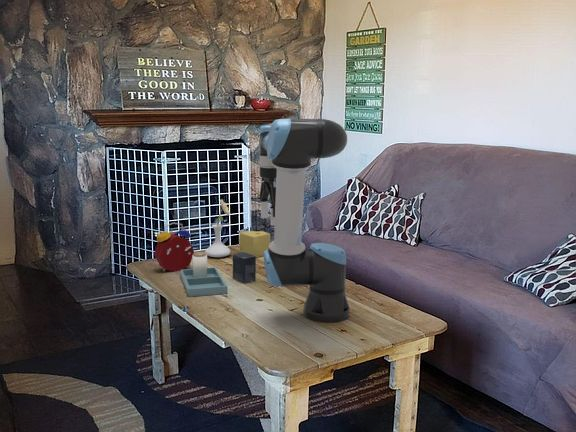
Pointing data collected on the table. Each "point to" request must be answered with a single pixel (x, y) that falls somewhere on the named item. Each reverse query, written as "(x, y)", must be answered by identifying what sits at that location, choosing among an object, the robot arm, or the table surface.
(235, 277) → the box
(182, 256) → the alarm clock
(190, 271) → the tray
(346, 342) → the table surface
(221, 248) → the flower in vase
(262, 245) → the yellow block
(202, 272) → the jar
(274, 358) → the table surface
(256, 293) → the table surface
